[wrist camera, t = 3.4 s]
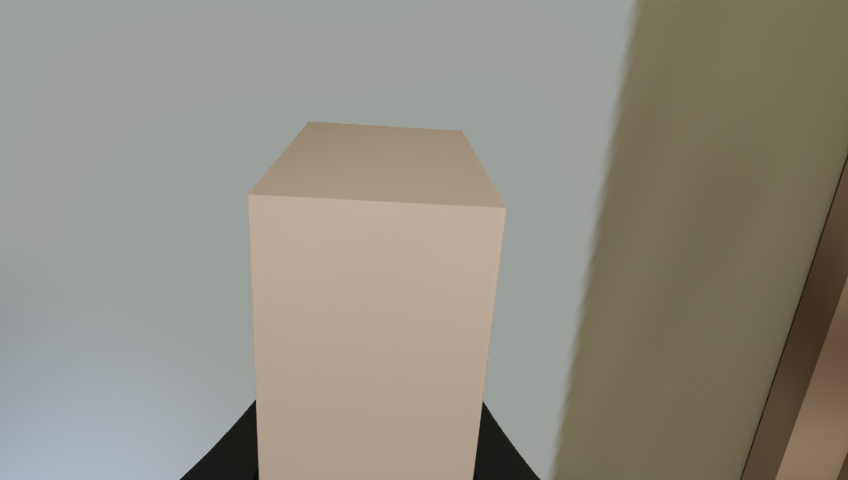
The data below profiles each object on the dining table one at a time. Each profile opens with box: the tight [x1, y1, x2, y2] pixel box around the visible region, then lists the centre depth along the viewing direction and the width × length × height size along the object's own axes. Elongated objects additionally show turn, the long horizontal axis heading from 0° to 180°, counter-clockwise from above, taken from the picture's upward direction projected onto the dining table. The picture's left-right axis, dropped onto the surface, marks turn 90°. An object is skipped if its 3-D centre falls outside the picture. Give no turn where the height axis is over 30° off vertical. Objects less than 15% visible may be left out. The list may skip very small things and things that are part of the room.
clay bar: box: [248, 121, 507, 480], centre depth 11 cm, size 12×3×5 cm, turn 176°
